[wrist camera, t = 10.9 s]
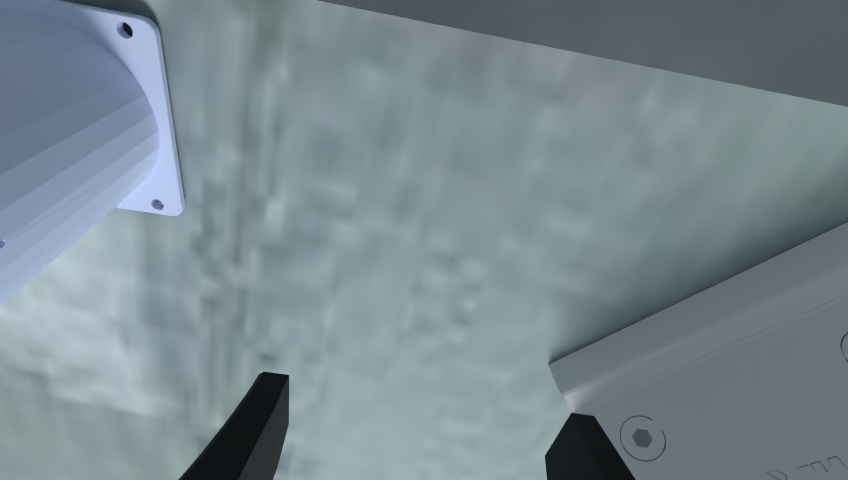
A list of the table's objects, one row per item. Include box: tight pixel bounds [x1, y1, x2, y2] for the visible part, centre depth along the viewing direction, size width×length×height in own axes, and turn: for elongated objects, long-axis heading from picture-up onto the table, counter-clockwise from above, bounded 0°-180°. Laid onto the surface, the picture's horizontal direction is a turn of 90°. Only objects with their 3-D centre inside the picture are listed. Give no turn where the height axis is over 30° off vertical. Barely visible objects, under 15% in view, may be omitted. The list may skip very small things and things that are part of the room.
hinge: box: [548, 222, 848, 480], centre depth 21 cm, size 17×5×10 cm, turn 129°
